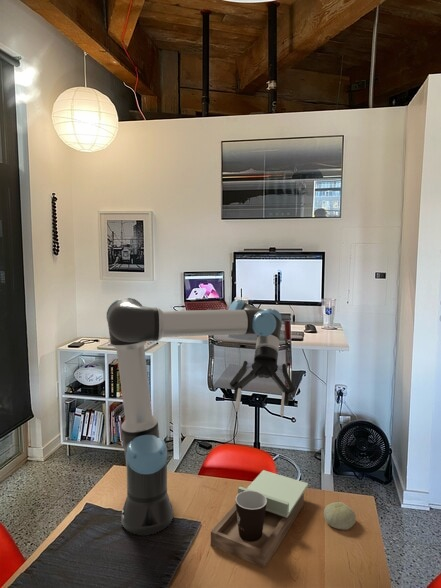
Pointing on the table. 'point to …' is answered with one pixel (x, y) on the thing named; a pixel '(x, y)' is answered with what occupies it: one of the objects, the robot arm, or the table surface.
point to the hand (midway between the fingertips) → (258, 412)
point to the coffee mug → (250, 514)
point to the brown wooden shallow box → (257, 551)
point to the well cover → (277, 491)
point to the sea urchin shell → (339, 515)
